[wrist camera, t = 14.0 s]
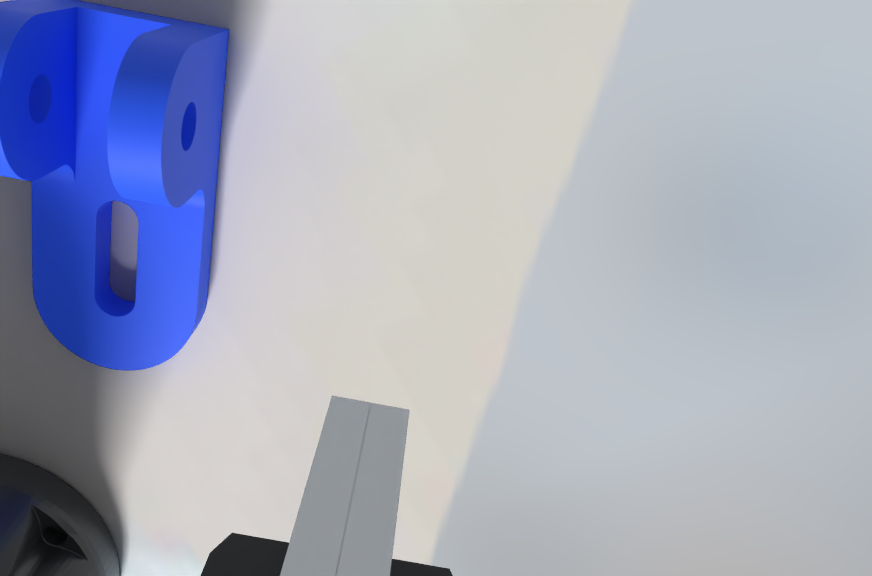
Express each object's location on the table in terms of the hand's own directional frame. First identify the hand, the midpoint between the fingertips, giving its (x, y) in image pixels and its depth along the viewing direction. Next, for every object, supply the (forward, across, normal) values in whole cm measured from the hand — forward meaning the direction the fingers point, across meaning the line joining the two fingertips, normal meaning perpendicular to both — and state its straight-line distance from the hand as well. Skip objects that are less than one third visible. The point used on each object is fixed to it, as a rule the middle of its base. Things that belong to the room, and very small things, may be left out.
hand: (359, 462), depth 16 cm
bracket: (+27, -14, -5) cm, 31 cm away
